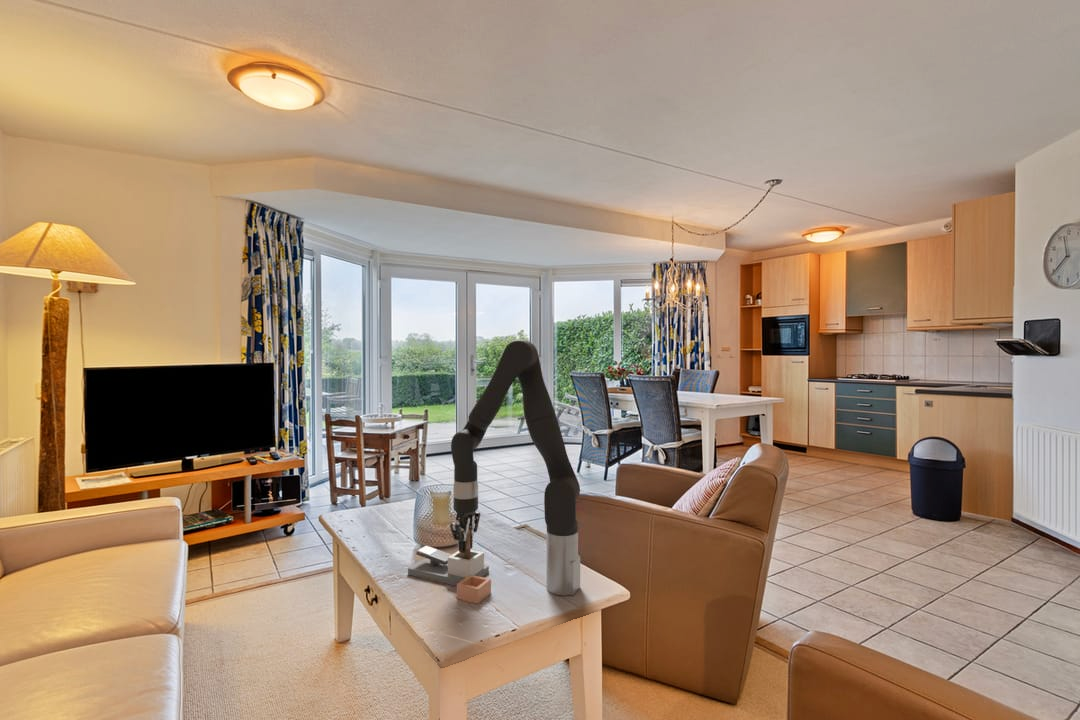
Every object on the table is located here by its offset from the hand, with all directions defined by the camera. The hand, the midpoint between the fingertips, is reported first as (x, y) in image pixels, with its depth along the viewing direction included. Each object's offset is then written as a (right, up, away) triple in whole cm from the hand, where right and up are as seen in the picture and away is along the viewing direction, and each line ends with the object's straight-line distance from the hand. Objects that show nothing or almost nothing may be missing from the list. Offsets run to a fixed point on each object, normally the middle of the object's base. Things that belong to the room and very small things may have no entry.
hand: (465, 549), depth 161 cm
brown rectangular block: (0, -5, 0) cm, 5 cm away
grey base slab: (-6, -8, +3) cm, 11 cm away
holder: (+4, -9, -12) cm, 15 cm away
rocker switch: (-10, -3, +5) cm, 12 cm away
